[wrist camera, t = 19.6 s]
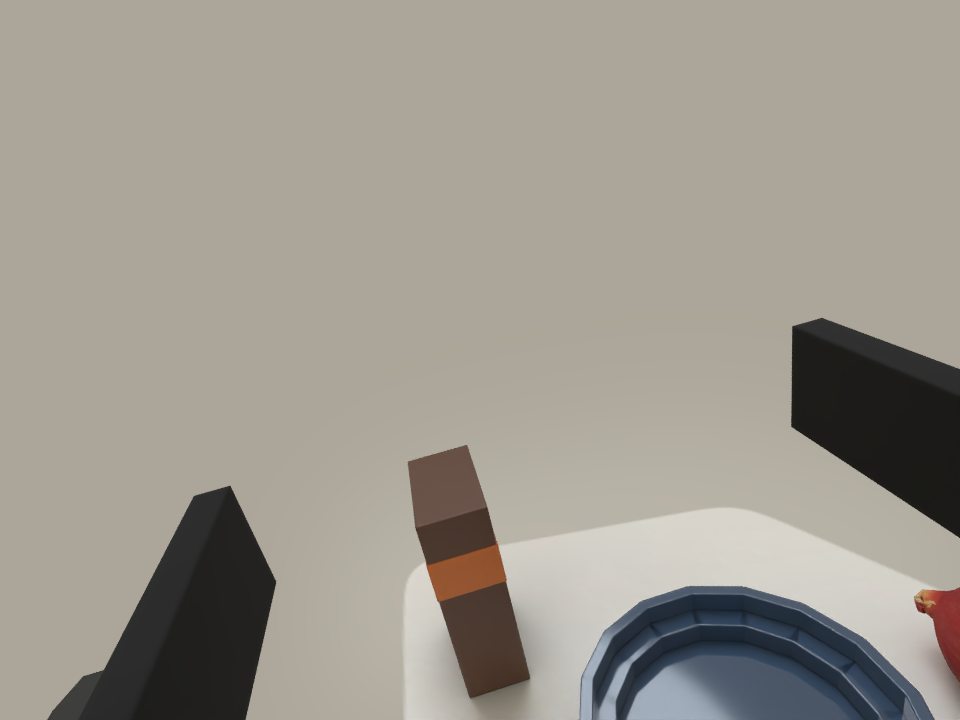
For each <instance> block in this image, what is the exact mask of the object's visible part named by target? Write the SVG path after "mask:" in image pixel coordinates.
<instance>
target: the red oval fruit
mask: <svg viewBox="0 0 960 720" xmlns="http://www.w3.org/2000/svg"><path fill="white" fill-rule="evenodd" d="M914 599H915V604H916V607H917V609H918V611H919V612H921V613H927V614H928V615H929V616H930V617H931V618H932V619H933V621H934V627H935V632H936V637H937V640H938V644H939V647H940V649H941V651H942V654H943V656H944V658H945V660H946V662H947V664H948V666H949V667H950V669H951V671H952V672H953V674H954V675H955V676H956V678H957V679H958V681H959V682H960V588H957V589H955V590H951V591H936V590H922V591H920V592H919V593H918V594H917V595H916V596H914Z"/></svg>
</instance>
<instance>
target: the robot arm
mask: <svg viewBox="0 0 960 720" xmlns="http://www.w3.org/2000/svg"><path fill="white" fill-rule="evenodd" d="M791 417H792V418H791V423H792V424H791V425H792V426H791V427H793V428H794V429H796V430H797V431H799V432H800V433H802V434H803V435H805V436H806V437H808V438H809V439H811V440H812V441H814V442H815V443H817V444H818V445H820V446H821V447H823V448H824V449H826V450H828V451H829V452H830V453H832V454H833V455H835V456H837V457H838V458H839V459H841V460H842V461H844V462H846V463H847V464H849V465H850V466H852V467H853V468H855V469H856V470H858V471H859V472H861V473H862V474H864V475H865V476H867V477H868V478H870V479H871V480H873V481H874V482H876V483H877V484H879V485H880V486H882V487H884V488H885V489H886V490H888V491H890V492H891V493H893V494H894V495H896V496H897V497H899V498H900V499H902V500H903V501H905V502H906V503H908V504H909V505H911V506H912V507H914V508H915V509H917V510H918V511H920V512H921V513H923V514H925V515H926V516H927V517H929V518H930V519H932V520H933V521H935V522H937V523H938V524H940V525H941V526H943V527H944V528H946V529H947V530H949V531H950V532H952V533H953V534H955V535H956V536H958V537H959V538H960V369H958V368H955V367H952V366H950V365H947V364H944V363H941V362H939V361H936V360H934V359H931V358H928V357H926V356H923V355H920V354H918V353H915V352H912V351H909V350H907V349H904V348H901V347H899V346H896V345H893V344H890V343H888V342H885V341H883V340H880V339H877V338H875V337H872V336H869V335H867V334H864V333H861V332H858V331H856V330H853V329H850V328H848V327H845V326H842V325H839V324H837V323H834V322H832V321H828V320H826V319H824V318H820V319H817V320H813V321H810V322H806V323H803V324H799V325H796V326H793V327H792V416H791ZM275 585H276V580H275V578H274V576H273V574H272V572H271V570H270V568H269V566H268V564H267V562H266V559H265V557H264V555H263V553H262V551H261V549H260V547H259V545H258V543H257V541H256V538H255V537H254V534H253V532H252V530H251V528H250V526H249V524H248V522H247V520H246V518H245V515H244V513H243V511H242V509H241V507H240V505H239V503H238V501H237V499H236V497H235V495H234V493H233V490H232V488H231V486H228V487H224V488H221V489H217V490H214V491H210V492H207V493H203V494H199V495H196V496H194V497H193V499H192V501H191V503H190V505H189V507H188V509H187V510H186V513H185V514H184V517H183V518H182V520H181V522H180V524H179V526H178V528H177V530H176V532H175V534H174V536H173V538H172V540H171V541H170V543H169V546H168V547H167V549H166V551H165V553H164V555H163V557H162V559H161V561H160V563H159V565H158V567H157V569H156V570H155V572H154V574H153V576H152V578H151V580H150V582H149V584H148V586H147V588H146V590H145V592H144V594H143V596H142V598H141V600H140V601H139V603H138V605H137V607H136V609H135V611H134V613H133V615H132V617H131V619H130V621H129V623H128V625H127V627H126V628H125V630H124V632H123V634H122V636H121V638H120V640H119V642H118V644H117V646H116V648H115V650H114V652H113V654H112V655H111V658H110V660H109V662H108V663H107V665H106V667H105V669H104V670H103V671H100V672H96V673H93V674H90V675H87V676H83V677H82V678H81V680H80V681H79V682H78V683H77V684H76V685H75V686H74V687H73V689H72V690H71V691H70V692H69V693H68V694H67V695H66V696H65V698H64V699H63V700H62V701H61V702H60V703H59V704H58V705H57V707H56V708H55V709H54V710H53V711H52V713H51V715H50V716H49V718H48V720H245V719H246V715H247V711H248V706H249V702H250V697H251V693H252V688H253V683H254V679H255V675H256V670H257V666H258V661H259V657H260V652H261V648H262V643H263V639H264V634H265V630H266V626H267V621H268V617H269V612H270V607H271V603H272V599H273V594H274V590H275Z"/></svg>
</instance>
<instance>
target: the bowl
mask: <svg viewBox="0 0 960 720" xmlns="http://www.w3.org/2000/svg"><path fill="white" fill-rule="evenodd" d="M580 720H934V718H933V716H932V714H931V712H930V710H929V708H928V706H927V705H926V703H925V701H924V699H923V697H922V695H921V694H920V693H919V691H918V690H917V689H916V688H915V687H914V686H913V685H912V684H911V683H910V682H909V681H907V680H906V679H905V678H904V677H903V676H902V675H901V674H900V673H899V672H898V671H897V670H896V669H895V668H894V667H893V666H892V665H891V664H890V663H889V662H888V661H887V660H886V659H885V658H884V657H883V656H882V655H881V654H880V653H879V652H878V651H877V650H876V649H875V648H874V647H873V646H872V645H871V644H870V643H869V642H868V641H867V640H866V639H864V638H863V637H861V636H859V635H858V634H856V633H854V632H853V631H851V630H849V629H847V628H846V627H844V626H842V625H840V624H839V623H837V622H835V621H833V620H832V619H830V618H828V617H826V616H825V615H823V614H821V613H819V612H818V611H816V610H814V609H813V608H811V607H809V606H807V605H806V604H803V603H801V602H797V601H793V600H790V599H786V598H783V597H779V596H776V595H772V594H769V593H765V592H761V591H758V590H754V589H751V588H747V587H743V586H689V587H688V586H687V587H684V588H680V589H677V590H674V591H671V592H668V593H665V594H662V595H659V596H656V597H652V598H649V599H646V600H643V601H641V602H639V603H638V604H637V605H636V606H634V607H633V608H632V609H631V610H630V611H628V612H627V613H626V614H625V615H623V616H622V617H621V618H620V619H619V620H617V621H616V622H615V623H614V624H613V625H611V626H610V627H609V628H608V629H606V630H605V631H604V632H603V634H602V636H601V638H600V640H599V642H598V644H597V646H596V648H595V650H594V652H593V654H592V656H591V658H590V661H589V663H588V665H587V667H586V669H585V671H584V673H583V675H582V677H581V694H580Z"/></svg>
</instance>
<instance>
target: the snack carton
mask: <svg viewBox="0 0 960 720" xmlns="http://www.w3.org/2000/svg"><path fill="white" fill-rule="evenodd" d="M408 467H409V476H410V485H411V493H412V502H413V511H414V519H415V528H416V531H417V534H418V538H419V541H420V543H421V547H422V550H423V553H424V556H425V559H426V566H427V570H428V573H429V576H430V579H431V582H432V585H433V588H434V591H435V594H436V598H437V601H438V602H439V603H440V606H441V609H442V613H443V616H444V619H445V622H446V625H447V628H448V631H449V634H450V638H451V641H452V644H453V647H454V650H455V653H456V656H457V659H458V663H459V666H460V669H461V672H462V675H463V678H464V681H465V684H466V688H467V691H468V694H469V697H470V698H471V697H474V696H477V695H480V694H483V693H486V692H489V691H493V690H496V689H499V688H502V687H505V686H508V685H511V684H514V683H517V682H520V681H523V680H526V679H529V678H530V675H529V671H528V667H527V663H526V659H525V655H524V651H523V647H522V643H521V639H520V636H519V632H518V628H517V624H516V620H515V616H514V612H513V608H512V604H511V600H510V596H509V592H508V588H507V584H506V580H507V579H506V575H505V571H504V567H503V563H502V559H501V555H500V551H499V547H498V544H497V541H496V538H495V534H494V532H493V528H492V524H491V520H490V516H489V512H488V508H487V505H486V502H485V499H484V495H483V492H482V490H481V486H480V483H479V480H478V477H477V474H476V471H475V468H474V465H473V462H472V459H471V456H470V453H469V449H468V447H467V445H465V446H462V447H458V448H454V449H451V450H447V451H444V452H440V453H437V454H433V455H430V456H426V457H423V458H419V459H416V460H412V461H409V462H408Z"/></svg>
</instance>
